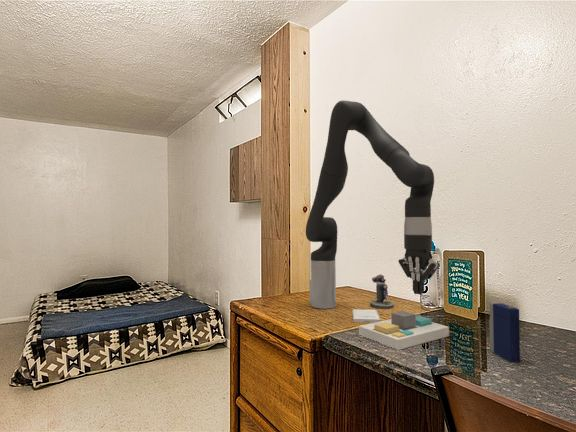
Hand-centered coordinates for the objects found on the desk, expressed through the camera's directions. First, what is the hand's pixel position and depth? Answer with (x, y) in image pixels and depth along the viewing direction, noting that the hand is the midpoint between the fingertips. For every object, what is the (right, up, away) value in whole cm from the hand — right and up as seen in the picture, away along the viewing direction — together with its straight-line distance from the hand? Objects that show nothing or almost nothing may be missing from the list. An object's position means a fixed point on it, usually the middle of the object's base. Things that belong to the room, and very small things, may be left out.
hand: (418, 293), depth 103 cm
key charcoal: (-5, -8, -4) cm, 10 cm away
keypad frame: (-5, -11, -4) cm, 13 cm away
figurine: (-2, -12, +31) cm, 33 cm away
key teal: (0, -10, 0) cm, 10 cm away
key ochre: (-11, -10, -7) cm, 16 cm away
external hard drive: (-12, -12, +16) cm, 23 cm away
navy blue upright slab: (+13, -11, -20) cm, 26 cm away
